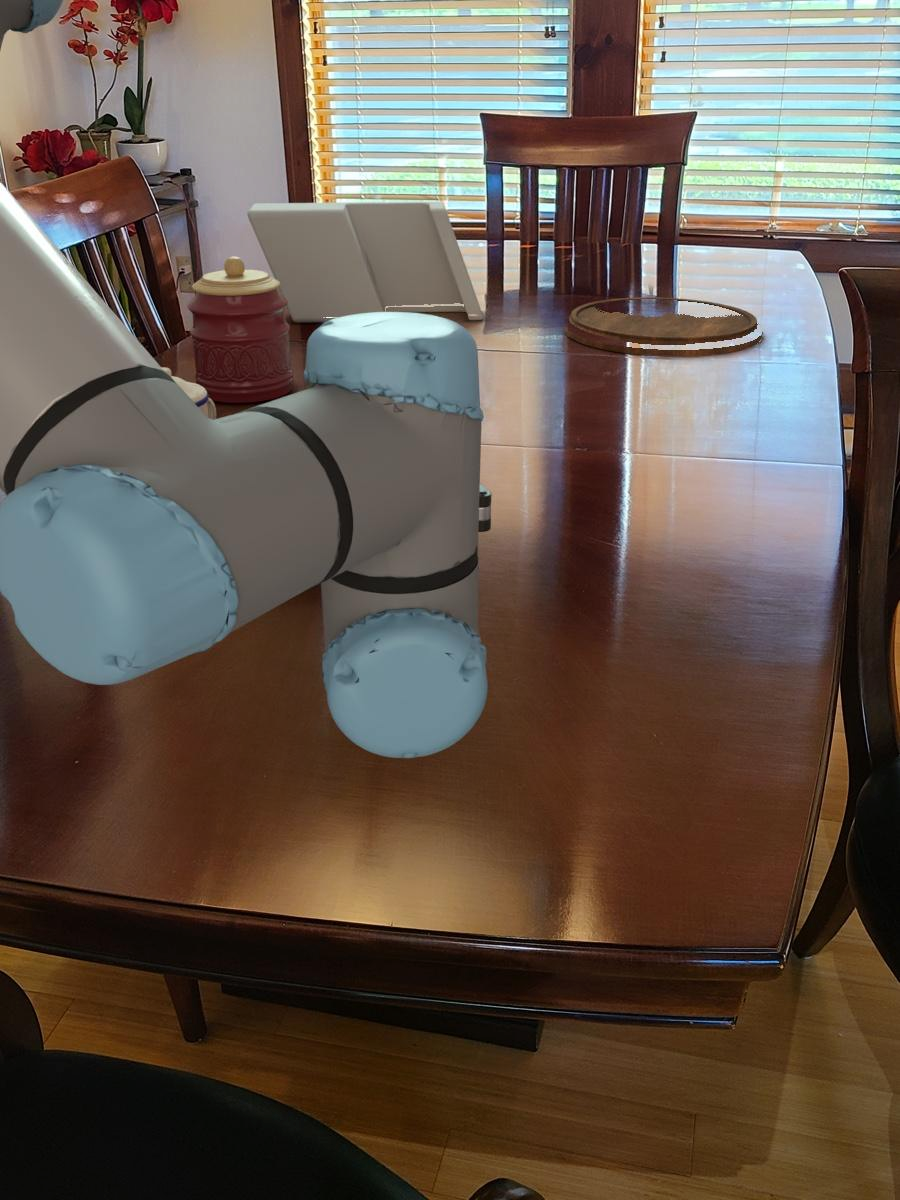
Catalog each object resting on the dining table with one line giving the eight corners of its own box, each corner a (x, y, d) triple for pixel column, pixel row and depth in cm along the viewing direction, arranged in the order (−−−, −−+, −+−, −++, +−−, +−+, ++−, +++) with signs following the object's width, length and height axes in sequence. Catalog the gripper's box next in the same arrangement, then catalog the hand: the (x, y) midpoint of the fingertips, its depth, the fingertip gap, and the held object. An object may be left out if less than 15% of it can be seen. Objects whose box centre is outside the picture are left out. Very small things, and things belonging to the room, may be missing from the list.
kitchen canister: (267, 373, 154) (256, 245, 146) (311, 393, 145) (302, 258, 137) (181, 388, 148) (165, 255, 140) (222, 411, 138) (207, 269, 130)
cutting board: (537, 344, 169) (537, 328, 167) (594, 304, 195) (594, 290, 194) (744, 364, 157) (747, 347, 156) (775, 319, 184) (777, 304, 183)
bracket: (319, 382, 187) (245, 212, 174) (322, 367, 196) (252, 204, 183) (484, 320, 183) (421, 141, 170) (480, 307, 192) (420, 136, 179)
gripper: (228, 625, 62) (252, 482, 83) (551, 609, 64) (496, 473, 85) (215, 505, 59) (243, 386, 79) (557, 492, 61) (498, 379, 81)
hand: (374, 431), depth 82 cm, fingers closed on condiment, 6 cm apart
